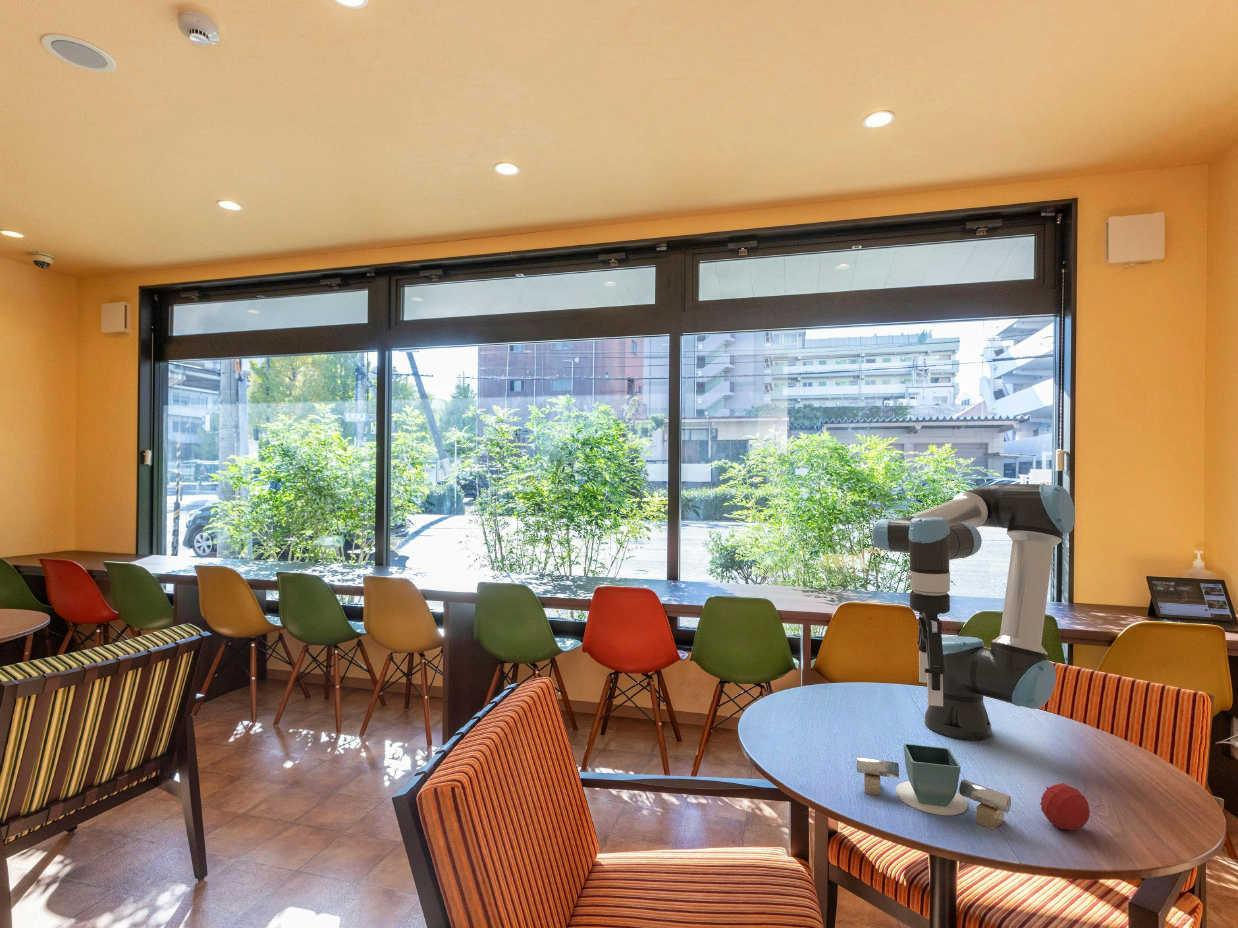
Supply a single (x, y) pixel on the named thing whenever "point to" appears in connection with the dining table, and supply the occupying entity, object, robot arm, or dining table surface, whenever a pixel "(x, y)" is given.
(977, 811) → the shaft
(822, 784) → the dining table surface
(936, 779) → the flower pot
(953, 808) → the seat pad
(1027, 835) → the dining table surface
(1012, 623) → the robot arm
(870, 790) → the shaft
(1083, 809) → the tomato
